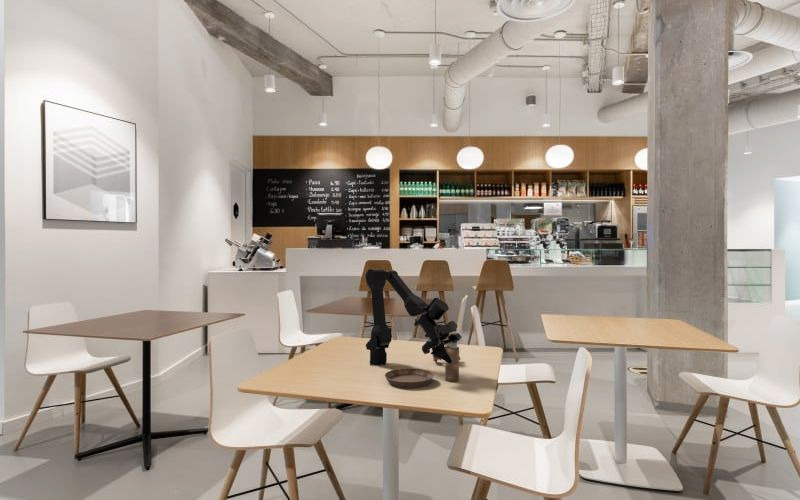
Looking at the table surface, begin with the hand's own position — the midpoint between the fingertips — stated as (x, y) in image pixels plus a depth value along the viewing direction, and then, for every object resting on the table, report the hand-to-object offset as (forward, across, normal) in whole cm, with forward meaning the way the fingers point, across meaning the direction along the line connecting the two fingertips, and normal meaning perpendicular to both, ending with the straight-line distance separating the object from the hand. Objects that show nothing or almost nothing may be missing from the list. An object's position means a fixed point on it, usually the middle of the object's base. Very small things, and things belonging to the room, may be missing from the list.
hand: (455, 361), depth 174 cm
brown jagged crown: (-7, +20, +18) cm, 28 cm away
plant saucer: (-3, -12, +14) cm, 19 cm away
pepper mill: (+4, 0, +6) cm, 7 cm away
